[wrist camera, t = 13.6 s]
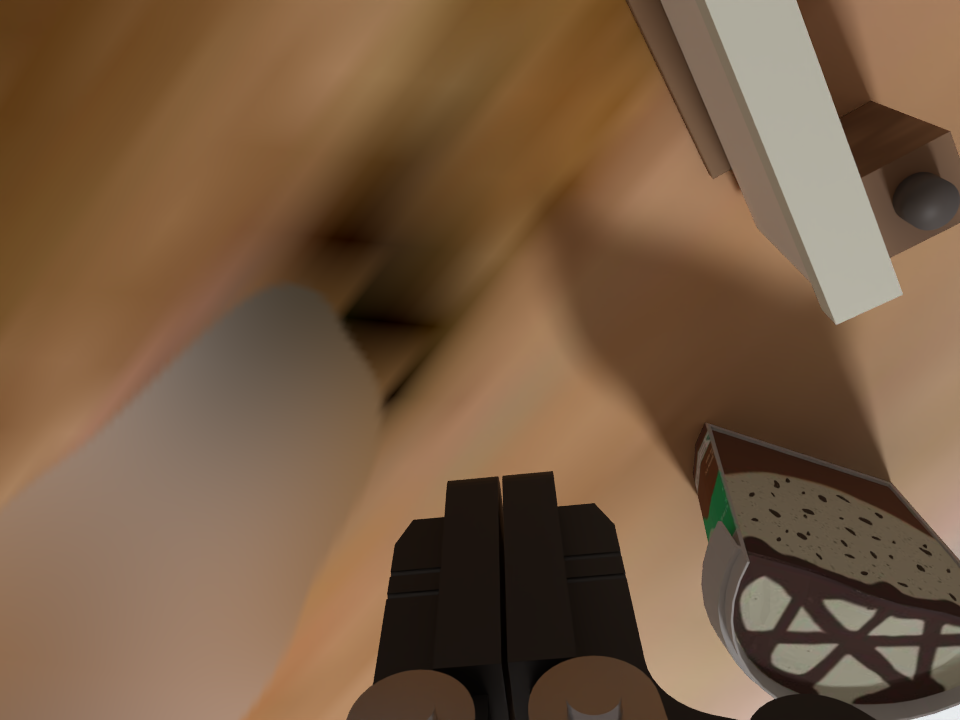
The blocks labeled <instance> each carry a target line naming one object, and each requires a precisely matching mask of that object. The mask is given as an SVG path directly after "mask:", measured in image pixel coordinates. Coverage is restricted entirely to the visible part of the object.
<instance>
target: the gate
mask: <svg viewBox="0 0 960 720" xmlns="http://www.w3.org/2000/svg"><path fill="white" fill-rule="evenodd" d="M660 1H661V3H662V5H663V8H664V10H665V12H666V15H667V17H668V19H669V22H670V24H671V26H672V29H673V31H674V34H675V36H676V38H677V41H678V43H679V45H680V48H681V50H682V52H683V55H684V57H685V59H686V62H687V64H688V66H689V69H690V71H691V74H692V76H693V78H694V81H695V83H696V85H697V88H698V90H699V92H700V95H701V97H702V99H703V102H704V104H705V106H706V109H707V111H708V114H709V116H710V118H711V121H712V123H713V125H714V128H715V130H716V132H717V135H718V137H719V139H720V142H721V144H722V146H723V149H724V151H725V154H726V156H727V158H728V161H729V163H730V165H731V168H732V170H733V172H734V175H735V177H736V179H737V182H738V184H739V187H740V189H741V191H742V194H743V196H744V198H745V201H746V203H747V205H748V208H749V210H750V212H751V215H752V217H753V219H754V222H755V224H756V227H757V228H758V229H759V231H760V232H761V233H762V234H763V235H764V236H765V237H766V238H767V239H768V240H769V241H770V242H771V243H772V244H773V245H774V246H775V247H776V248H777V249H778V250H779V251H780V252H781V253H782V254H783V255H784V256H785V257H786V258H787V259H788V260H789V261H790V262H791V263H792V264H793V265H794V266H795V267H796V268H797V269H798V270H799V271H800V272H801V273H802V274H803V275H804V276H805V277H806V278H807V279H808V280H809V281H810V282H811V284H812V287H813V289H814V292H815V294H816V296H817V299H818V301H819V304H820V306H821V309H822V310H823V311H824V312H825V314H826V315H827V316H828V317H829V318H830V319H831V320H832V321H833V322H834V323H835V324H836V325H837V324H840V323H842V322H844V321H846V320H848V319H850V318H853V317H855V316H857V315H859V314H861V313H864V312H866V311H868V310H870V309H872V308H875V307H877V306H879V305H881V304H883V303H885V302H888V301H890V300H892V299H894V298H896V297H899V296H901V295H903V293H902V290H901V288H900V285H899V282H898V279H897V277H896V274H895V271H894V268H893V266H892V263H891V260H890V257H889V255H888V252H887V249H886V246H885V244H884V241H883V238H882V235H881V232H880V230H879V227H878V224H877V221H876V219H875V216H874V213H873V210H872V208H871V205H870V202H869V199H868V197H867V194H866V191H865V188H864V186H863V183H862V180H861V177H860V175H859V172H858V169H857V166H856V164H855V161H854V158H853V155H852V153H851V150H850V147H849V144H848V142H847V139H846V136H845V133H844V131H843V128H842V125H841V122H840V120H839V117H838V114H837V111H836V108H835V106H834V103H833V100H832V97H831V95H830V92H829V89H828V86H827V84H826V81H825V78H824V75H823V73H822V70H821V67H820V64H819V62H818V59H817V56H816V53H815V51H814V48H813V45H812V42H811V40H810V37H809V34H808V31H807V29H806V26H805V23H804V20H803V18H802V15H801V12H800V9H799V7H798V4H797V1H796V0H660Z"/></svg>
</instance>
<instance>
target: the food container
mask: <svg viewBox="0 0 960 720" xmlns="http://www.w3.org/2000/svg"><path fill="white" fill-rule="evenodd" d="M693 475H694V480H695V484H696V489H697V493H698V498H699V502H700V507H701V511H702V516H703V520H704V525H705V529H706V534H707V538H708V546H707V550H706V554H705V558H704V561H703V570H702V592H703V600H704V606H705V609H706V611H707V614H708V617H709V620H710V623H711V625H712V626H713V628H714V630H715V632H716V633H717V635H718V637H719V638H720V640H721V641H722V643H723V644H724V646H725V647H726V649H727V650H728V652H729V653H730V655H731V656H732V658H733V659H734V661H735V662H736V664H737V665H738V666H739V667H740V668H741V669H742V670H743V671H744V673H745V674H746V675H747V676H748V677H749V678H750V679H751V680H752V681H754V682H755V683H756V684H758V685H759V686H760V687H761V688H762V689H763V690H764V691H766V692H767V693H768V694H769V695H771V696H772V697H773V698H775V699H776V698H779V697H783V696H786V695H793V694H816V695H823V696H827V697H831V698H835V699H838V700H841V701H843V702H846V703H848V704H851V705H852V706H854V707H856V708H858V709H860V710H862V711H863V712H865V713H867V714H868V715H870V716H871V717H873V718H875V719H876V720H911V719H915V718H919V717H923V716H927V715H931V714H935V713H937V712H940V711H943V710H946V709H948V708H951V707H954V706H956V705H959V704H960V560H959V559H958V558H957V557H956V556H955V554H954V553H953V552H952V551H951V550H950V549H949V548H948V546H947V545H946V544H945V543H944V542H943V541H942V540H941V538H940V537H939V536H938V535H937V534H936V533H935V532H934V531H933V529H932V528H931V527H930V526H929V525H928V524H927V523H926V521H925V520H924V519H923V518H922V517H921V516H920V515H919V513H918V512H917V511H916V510H915V509H914V508H913V507H912V506H911V504H910V503H909V502H908V501H907V500H906V499H905V498H904V496H903V495H902V494H901V493H900V492H899V491H898V490H897V488H896V487H895V486H894V485H893V484H892V483H891V482H888V481H885V480H882V479H878V478H875V477H872V476H869V475H866V474H863V473H860V472H857V471H854V470H851V469H848V468H845V467H841V466H838V465H835V464H832V463H829V462H826V461H823V460H820V459H817V458H814V457H811V456H808V455H804V454H801V453H798V452H795V451H792V450H789V449H786V448H783V447H780V446H777V445H774V444H770V443H767V442H764V441H761V440H758V439H755V438H752V437H749V436H746V435H743V434H740V433H737V432H733V431H730V430H727V429H724V428H721V427H718V426H715V425H712V424H709V423H706V422H705V424H704V426H703V428H702V431H701V433H700V436H699V438H698V440H697V443H696V447H695V458H694V468H693Z"/></svg>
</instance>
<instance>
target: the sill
mask: <svg viewBox="0 0 960 720" xmlns="http://www.w3.org/2000/svg"><path fill="white" fill-rule="evenodd" d="M626 1H627V4H628V6H629V8H630V10H631V12H632V14H633V16H634V18H635V20H636V22H637V24H638V27H639V29H640V31H641V33H642V35H643V37H644V39H645V41H646V43H647V45H648V47H649V49H650V52H651V54H652V56H653V58H654V60H655V62H656V64H657V66H658V68H659V70H660V72H661V75H662V77H663V79H664V81H665V83H666V85H667V87H668V89H669V91H670V93H671V95H672V98H673V100H674V102H675V104H676V106H677V108H678V110H679V112H680V114H681V116H682V118H683V121H684V123H685V125H686V127H687V129H688V131H689V133H690V135H691V137H692V139H693V141H694V143H695V146H696V148H697V150H698V152H699V154H700V156H701V158H702V160H703V162H704V164H705V166H706V169H707V171H708V173H709V175H710V176H711V177H712V178H713V179H714V178H716V177H718V176H719V175H721V174H723V173H725V172H727V171H729V170H730V169H732V168H731V165H730V163H729V161H728V158H727V156H726V154H725V151H724V149H723V146H722V144H721V142H720V139H719V137H718V135H717V132H716V130H715V128H714V125H713V123H712V121H711V118H710V116H709V114H708V111H707V109H706V106H705V104H704V102H703V99H702V97H701V95H700V92H699V90H698V88H697V85H696V83H695V81H694V78H693V76H692V74H691V71H690V69H689V66H688V64H687V62H686V59H685V57H684V55H683V52H682V50H681V48H680V45H679V43H678V41H677V38H676V36H675V34H674V31H673V29H672V26H671V24H670V22H669V19H668V17H667V15H666V12H665V10H664V8H663V5H662V3H661V1H660V0H626Z"/></svg>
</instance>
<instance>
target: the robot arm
mask: <svg viewBox="0 0 960 720" xmlns="http://www.w3.org/2000/svg"><path fill="white" fill-rule="evenodd" d="M502 484H503V504H502V496H501V488H500V482H499V477H487V478H477V479H466V480H455V481H448V482H447V490H446V504H445V517H440V518H429V519H418V520H413V521H412V522H411V524H410V525H409V526H408V528H407V529H406V530H405V532H404V533H403V534H402V536H401V537H400V538H399V540H398V541H397V542H396V544H395V547H394V554H393V560H392V567H391V577H390V579H389V586H388V592H387V595H388V599H386V605H385V612H384V618H383V624H382V631H381V637H380V644H379V650H378V657H377V663H376V669H375V676H374V682H373V685H372V686H371V687H369V688H368V689H367V690H366V691H365V692H364V693H363V694H362V695H361V696H360V697H359V698H358V699H357V701H356V702H355V703H354V705H353V706H352V708H351V710H350V711H349V714H348V717H347V719H346V720H736V719H731V718H726V717H721V716H716V715H711V714H708V713H704V712H700V711H698V710H695V709H692V708H690V707H688V706H686V705H684V704H682V703H680V702H678V701H676V700H675V699H674V698H672V697H671V696H669V695H668V694H667V693H666V692H665V691H664V690H662V689H661V688H660V687H659V686H658V684H657V683H656V682H655V681H654V679H653V678H652V676H651V674H650V673H649V671H648V669H647V666H646V663H645V659H644V655H643V650H642V646H641V641H640V637H639V632H638V628H637V623H636V619H635V614H634V610H633V605H632V601H631V596H630V592H629V587H628V583H627V578H626V576H625V569H624V565H623V560H622V556H621V552H620V547H619V543H618V538H617V534H616V529H615V525H614V524H613V523H612V521H611V520H610V519H609V518H608V517H607V516H606V515H605V514H604V513H603V512H602V511H601V510H600V509H599V508H598V507H597V506H596V505H595V503H592V504H581V505H570V506H559V507H557V499H556V491H555V483H554V475H553V471H550V472H539V473H528V474H517V475H507V476H503V477H502ZM750 720H876V719H875V718H873V717H871V716H870V715H868V714H867V713H865V712H863V711H862V710H860V709H858V708H856V707H854V706H852V705H851V704H848V703H846V702H843V701H841V700H838V699H835V698H831V697H827V696H823V695H816V694H793V695H786V696H783V697H779V698H776V699H774V700H772V701H770V702H768V703H766V704H765V705H763V706H762V707H761V708H759V709H758V710H757V711H756V712H755V714H754V715H753V716H752V718H751V719H750Z"/></svg>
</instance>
